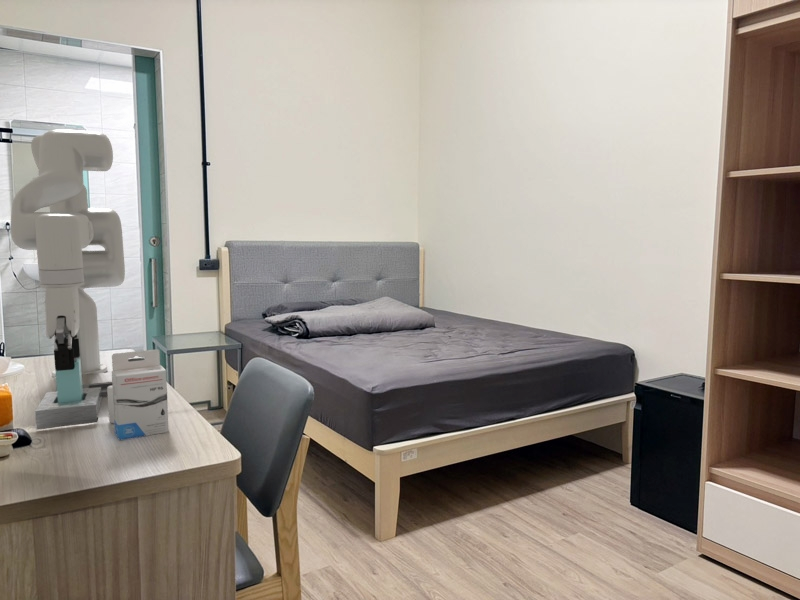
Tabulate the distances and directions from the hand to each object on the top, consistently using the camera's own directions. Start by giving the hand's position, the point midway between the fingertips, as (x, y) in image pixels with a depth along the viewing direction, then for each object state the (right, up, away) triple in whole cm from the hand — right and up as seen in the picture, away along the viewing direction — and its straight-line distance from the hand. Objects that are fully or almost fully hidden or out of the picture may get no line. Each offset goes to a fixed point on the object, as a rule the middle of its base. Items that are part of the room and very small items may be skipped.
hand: (68, 363), depth 116 cm
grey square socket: (0, -9, +14) cm, 17 cm away
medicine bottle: (+15, -11, -3) cm, 19 cm away
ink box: (+19, -12, -10) cm, 25 cm away
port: (0, -10, 0) cm, 10 cm away
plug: (0, -9, 0) cm, 9 cm away
